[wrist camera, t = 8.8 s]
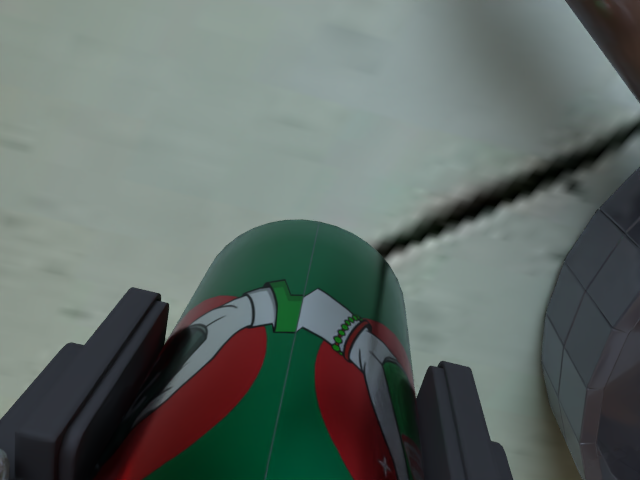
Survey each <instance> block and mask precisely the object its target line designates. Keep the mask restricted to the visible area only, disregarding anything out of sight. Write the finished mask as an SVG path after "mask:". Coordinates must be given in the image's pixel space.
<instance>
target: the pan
mask: <svg viewBox="0 0 640 480" xmlns="http://www.w3.org/2000/svg"><path fill="white" fill-rule="evenodd" d="M546 312H547V313H546V314H545V324H544V334H543V345H542V356H541V360H542V362H541V363H542V368H543V374H544V379H545V384H546V389H547V394H548V399H549V404H550V406H551V409H552V411H553V413H554V416H555V418H556V420H557V423H558V425H559V427H560V430H561V432H562V434H563V436H564V439H565V441H566V443H567V445H568V448H569V450H570V453H571V455H572V457H573V460H574V462H575V464H576V467H577V469H578V471H579V474H580V476H581V478H582V480H640V167H639V168H638V169H637V170H636V171H635V172H634V173H633V174H632V175H631V176H630V177H629V178H628V179H627V180H626V181H625V182H624V183H623V184H622V185H621V186H620V187H619V188H618V189H617V190H616V191H615V192H614V193H613V194H612V195H611V196H610V197H609V199H608V200H607V201H606V202H605V203H604V204H603V205H602V206H601V207H600V209H598V210H597V211H596V212H595V214H594V215H593V217H592V218H591V220H590V222H589V223H588V225H587V226H586V228H585V229H584V231H583V232H582V234H581V235H580V237H579V239H578V240H577V242H576V243H575V245H574V246H573V248H572V249H571V251H570V252H569V254H568V256H567V257H566V259H565V262H564V264H563V266H562V269H561V272H560V275H559V277H558V280H557V283H556V286H555V288H554V291H553V294H552V297H551V299H550V302H549V305H548V308H547V310H546Z"/></svg>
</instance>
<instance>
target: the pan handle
mask: <svg viewBox="0 0 640 480" xmlns="http://www.w3.org/2000/svg"><path fill="white" fill-rule="evenodd" d="M565 1H566V2H567V4H568V5H569V6H570V8H571V9H572V11H573V12H574V13H575V15H576V16H577V17H578V19H579V20H580V22H581V23H582V24H583V26H584V27H585V28H586V30H587V31H588V33H589V34H590V35H591V37H592V38H593V40H594V41H595V42H596V44H597V45H598V46H599V48H600V49H601V51H602V52H603V53H604V55H605V56H606V57H607V59H608V60H609V62H610V63H611V64H612V66H613V67H614V68H615V70H616V71H617V73H618V74H619V75H620V77H621V78H622V80H623V81H624V82H625V84H626V85H627V86H628V88H629V89H630V91H631V92H632V93H633V95H634V96H635V97H636V99H637V100H638V102H639V103H640V0H565Z"/></svg>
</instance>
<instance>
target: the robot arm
mask: <svg viewBox="0 0 640 480" xmlns="http://www.w3.org/2000/svg"><path fill="white" fill-rule="evenodd" d="M168 313H169V304H168V303H165V302H161V295H160V294H159V293H155V292H150V291H146V290H142V289H138V288H134V287H132V288H130V289H129V290H128V291H127V293H126V294H125V295H124V296H123V298H122V299H121V300H120V301H119V303H118V304H117V305H116V306H115V308H114V309H113V310H112V311H111V313H110V314H109V315H108V316H107V318H106V319H105V320H104V321H103V323H102V324H101V325H100V326H99V328H98V329H97V330H96V331H95V332H94V334H93V335H92V336H91V337H90V339H89V340H88V341H87V342H86V344H85V345H80V344H76V343H72V342H71V343H68V344H66V345H65V346H64V347H63V348H62V349H61V350H60V351H59V352H58V354H57V355H56V356H55V357H54V358H53V359H52V361H51V362H50V363H49V364H48V365H47V366H46V368H45V369H44V370H43V371H42V372H41V373H40V375H39V376H38V377H37V378H36V379H35V380H34V381H33V383H32V384H31V385H30V386H29V387H28V388H27V390H26V391H25V392H24V393H23V394H22V395H21V397H20V398H19V399H18V400H17V401H16V402H15V404H14V405H13V406H12V407H11V408H10V409H9V411H8V412H7V413H6V414H5V415H4V416H3V418H2V419H1V420H0V480H87V478H88V476H89V474H90V473H91V471H92V469H93V467H94V466H95V464H96V462H97V461H98V459H99V457H100V455H101V454H102V452H103V450H104V448H105V447H106V445H107V443H108V442H109V440H110V438H111V436H112V435H113V433H114V431H115V429H116V428H117V426H118V424H119V423H120V421H121V419H122V417H123V416H124V414H125V412H126V410H127V409H128V407H129V405H130V404H131V402H132V400H133V398H134V397H135V395H136V393H137V391H138V390H139V388H140V386H141V385H142V383H143V381H144V379H145V378H146V376H147V374H148V373H149V371H150V369H151V367H152V366H153V364H154V362H155V360H156V359H157V357H158V355H159V354H160V352H161V350H162V348H163V347H164V342H165V335H166V327H167V320H168ZM416 404H417V413H418V422H419V430H420V439H421V447H422V456H423V465H424V473H425V480H513V477H512V474H511V471H510V467H509V464H508V460H507V457H506V454H505V451H504V449H503V447H502V446H501V445H500V444H499V443H497V442H493V441H491V440H490V436H489V433H488V429H487V425H486V422H485V418H484V414H483V411H482V407H481V403H480V400H479V396H478V392H477V389H476V385H475V381H474V378H473V374H472V371H471V369H470V368H469V367H466V366H462V365H458V364H453V363H449V362H445V361H441V362H440V363H439V365H438V367H434V366H429V368H428V370H427V372H426V374H425V377H424V380H423V382H422V385H421V388H420V390H419V393H418V396H417V398H416Z"/></svg>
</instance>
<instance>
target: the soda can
mask: <svg viewBox="0 0 640 480" xmlns="http://www.w3.org/2000/svg"><path fill="white" fill-rule="evenodd" d="M87 480H425V473H424V465H423V456H422V447H421V439H420V430H419V422H418V413H417V404H416V396H415V387H414V379H413V370H412V362H411V353H410V344H409V336H408V327H407V319H406V310H405V303H404V298H403V293H402V290H401V287H400V285H399V282H398V279H397V278H396V276H395V274H394V272H393V271H392V269H391V267H390V266H389V264H388V263H387V262H386V261H385V260H384V258H383V257H382V256H381V255H380V254H379V253H378V252H377V251H376V250H375V249H374V248H373V247H372V246H370V245H369V244H368V243H367V242H365V241H364V240H362V239H361V238H359V237H358V236H356V235H354V234H353V233H351V232H348V231H346V230H344V229H342V228H339V227H337V226H334V225H330V224H326V223H323V222H318V221H310V220H283V221H277V222H271V223H267V224H264V225H261V226H258V227H255V228H253V229H251V230H249V231H247V232H245V233H243V234H241V235H240V236H238V237H237V238H235V239H234V240H233V241H232V242H230V243H229V244H228V245H226V247H225V248H224V249H223V250H222V251H221V252H220V253H219V254H218V255H217V256H216V258H215V259H214V261H213V263H212V264H211V266H210V267H209V269H208V271H207V272H206V274H205V276H204V278H203V279H202V281H201V283H200V285H199V286H198V288H197V290H196V291H195V293H194V295H193V297H192V298H191V300H190V302H189V303H188V305H187V307H186V309H185V310H184V312H183V314H182V316H181V317H180V319H179V321H178V322H177V324H176V326H175V328H174V329H173V331H172V333H171V335H170V336H169V338H168V340H167V341H166V343H165V345H164V347H163V348H162V350H161V352H160V354H159V355H158V357H157V359H156V360H155V362H154V364H153V366H152V367H151V369H150V371H149V373H148V374H147V376H146V378H145V379H144V381H143V383H142V385H141V386H140V388H139V390H138V391H137V393H136V395H135V397H134V398H133V400H132V402H131V404H130V405H129V407H128V409H127V410H126V412H125V414H124V416H123V417H122V419H121V421H120V423H119V424H118V426H117V428H116V429H115V431H114V433H113V435H112V436H111V438H110V440H109V442H108V443H107V445H106V447H105V448H104V450H103V452H102V454H101V455H100V457H99V459H98V461H97V462H96V464H95V466H94V467H93V469H92V471H91V473H90V474H89V476H88V478H87Z"/></svg>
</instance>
